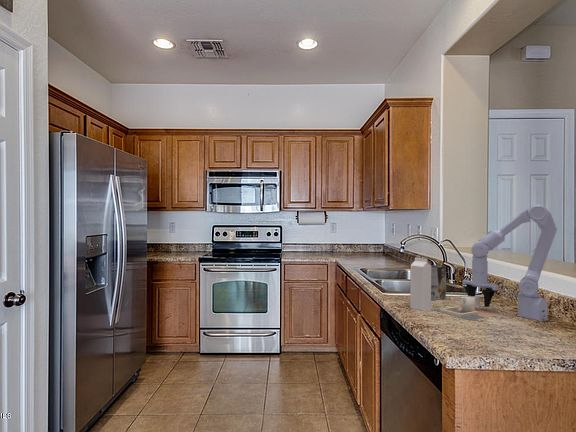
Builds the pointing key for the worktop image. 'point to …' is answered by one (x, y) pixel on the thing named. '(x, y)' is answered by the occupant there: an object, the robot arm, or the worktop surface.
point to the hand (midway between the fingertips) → (479, 305)
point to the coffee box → (438, 282)
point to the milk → (420, 284)
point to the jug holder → (469, 315)
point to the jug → (469, 303)
